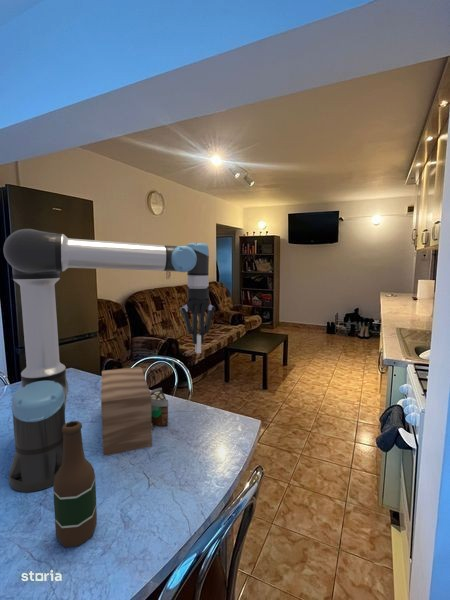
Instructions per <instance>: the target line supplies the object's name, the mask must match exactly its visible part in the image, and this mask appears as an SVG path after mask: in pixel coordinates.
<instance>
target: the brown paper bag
mask: <svg viewBox="0 0 450 600" xmlns="http://www.w3.org/2000/svg"><path fill="white" fill-rule="evenodd" d="M145 377H146V376H145V374H144V371H143V368H142V367H141V366H135V367H134V366H132V367H125V368H117V369H107V370H101V394H100V395H101V396H100V400H101V401H100V402H101V403H100V405H101V430H102V431H101V432H102V434H101V435H102V452H103V453H102V455H103V457H106V456H110V455H115V454H116V455H117V454H120V453H121V454H122V453H125V452H131V451H136V450H140V449H141V450H142V449H145V448H150V447H153V438H152V437H153V435H152V434H153V432H152V425H153V424H152V422H151V394H150V392H151V391H150V389H149V386H148V383H147V380H146V378H145Z"/></svg>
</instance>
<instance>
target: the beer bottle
mask: <svg viewBox="0 0 450 600" xmlns="http://www.w3.org/2000/svg"><path fill="white" fill-rule="evenodd" d="M82 428H83V425H82V423H81V422H80V421H78V420H72V421H69V422H65V424H64V426H63V427H62V431H61V432H63V460H62V465H61V467H60V469H59V470H58V472H57V473H56V476H55V479H54V484H53V486H52V487H53V489H52V490H53V491H52V493H53V494H52V495H53V507H54V523H55V524H54V526H55V535H56V539H57V541H58V542H59V543H60V544H61V546H62V547H63V548H74V547H80V546H81V545H82V544H83V543H84V544H85V543H86V541H88V540H90V539H91V538H92V537H93V535H94V534H95V533H94V532H95V529H96V526H97V524H98V520H97V518H98V511H97V508H98V507H97V490H96V486H97V485H96V473H95V469H94V467H93V465H92V463H91V462H90V461H89V460H88V459H87V458H86V456H85V453H84V446H83V445H84V444H83V437H82V436H83V435H82Z"/></svg>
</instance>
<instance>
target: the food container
mask: <svg viewBox="0 0 450 600" xmlns="http://www.w3.org/2000/svg"><path fill="white" fill-rule="evenodd" d="M150 394H151V422H152V425H154V427H160V428H164V427H169V399H167V398H166V396H165V393H164V392H163V388H162V387H158V388H155V389H152V390H151V391H150Z"/></svg>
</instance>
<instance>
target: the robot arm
mask: <svg viewBox="0 0 450 600" xmlns="http://www.w3.org/2000/svg"><path fill="white" fill-rule="evenodd" d="M3 256H4V258H5V260H6V261H7V263H8V264H9V265H10V267H11V268H12V271H11V272H12V280H13V281H14V282H15V283H16V284H18V285H19V287H20V302H21V311H22V313H21V314H22V325H23V326H22V327H23V336H24V337H23V338H24V349H25V350H24V351H25V360H26V361H25V363H26V367H25V368H24V369H23V370H22V371H21V372H20V377H21V387H20V388H18V389H17V390H16V391H15V393H14V394H13V396H12V399H11V400H12V401H11V413H12V420H13V421H12V422H13V432H14V433H13V435H14V446H15V447H14V448H15V452H14V455H13V459H12V463H11V466H10V469H9V472H8V473H9V474H8V482H9V483H8V484H9V486H10V488H11V489H12V490H13V491H14V490H15V491H17V492H21V493H31V492H37V491H41V490H45V489H47V488H50V487H53V484H54V479H55V476H56V473H57V472H58V470H59V469H60V467H61V465H62V460H63V432H61V431H62V427H63V426H64V424H65V423H66V405H67V404H66V403H67V397H68V392H69V381H68V379H67V369H66V365H65V364H63V363H61V362H60V361H61V360H60V346H59V334H58V331H59V330H58V319H57V317H58V316H57V305H56V303H57V301H56V289H55V287H56V285H55V284H56V283H57V282H59V280H60V279H61V277H60V272H65V271H66V270H67V269H69V268H70V269H74V268H75V269H99V270H123V271H124V270H126V271H127V270H128V271H131V270H132V271H156V272H157V271H159V272H160V271H161V272H179V273H186V272H187V274H186V275H187V282H186V283H187V287H188V288H187V290H186V292H187V293H186V295H187V300H186V303H185V304H184V305H183V306H181V307H180V308H179V310H180V312H181V313H182V316H183V320H184V324H185V329H186V332H187V333H188V334H189V335H192V338H191V339H192V341H191V342H192V344H194V351H195V353H196V354H197V355H198V354H202V344H204V339H205V338H204V337H205V335H206V334H208V333H209V332H210V328H211V324H212V319H213V316H214V313H215V311H216V306H215V305H212V304H211V303H210V300H209V298H210V295H209V294H210V290H209V286H210V285H209V281H210V279H209V277H210V276H209V270H210V269H209V267H210V266H209V264H210V250H209V245H208V244H207V243H204V242H189V243H187V245H164V244H151V243H139V242H137V243H135V242H125V241H123V242H122V241H108V240H99V239H98V240H97V239H81V238H70V237H69V238H68V237H67V236H66V235H65V234H64V233H57V232H49V231H41V230H37V229H32V228H23V229H17V230H15V231H14V232H12V233H11V234H10V235H8V237H6V239H5V241H4V244H3ZM207 310H208V311H207ZM188 311H190V312H191V322H190V319H189V314H188ZM206 311H207V313H206V318H205V312H206Z"/></svg>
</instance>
